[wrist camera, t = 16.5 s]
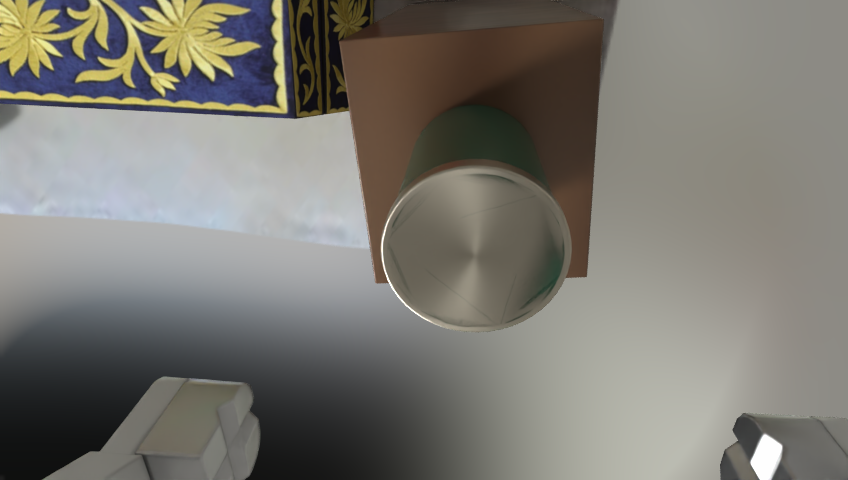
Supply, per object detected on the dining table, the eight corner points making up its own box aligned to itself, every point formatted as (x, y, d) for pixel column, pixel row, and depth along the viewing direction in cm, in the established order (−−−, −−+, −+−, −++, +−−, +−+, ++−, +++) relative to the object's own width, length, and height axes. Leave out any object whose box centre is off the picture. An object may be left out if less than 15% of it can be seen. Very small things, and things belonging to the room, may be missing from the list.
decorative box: (-34, -62, 38) (-169, -71, 30) (375, -49, 36) (347, -55, 28) (16, 89, 43) (-89, 116, 35) (377, 107, 41) (354, 140, 33)
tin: (539, 223, 21) (568, 331, 14) (414, 228, 21) (391, 334, 15) (541, 96, 18) (577, 160, 12) (401, 105, 19) (368, 171, 13)
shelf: (533, -7, 37) (604, 18, 17) (532, 132, 41) (587, 277, 22) (407, 4, 38) (338, 40, 18) (419, 139, 42) (374, 284, 23)
